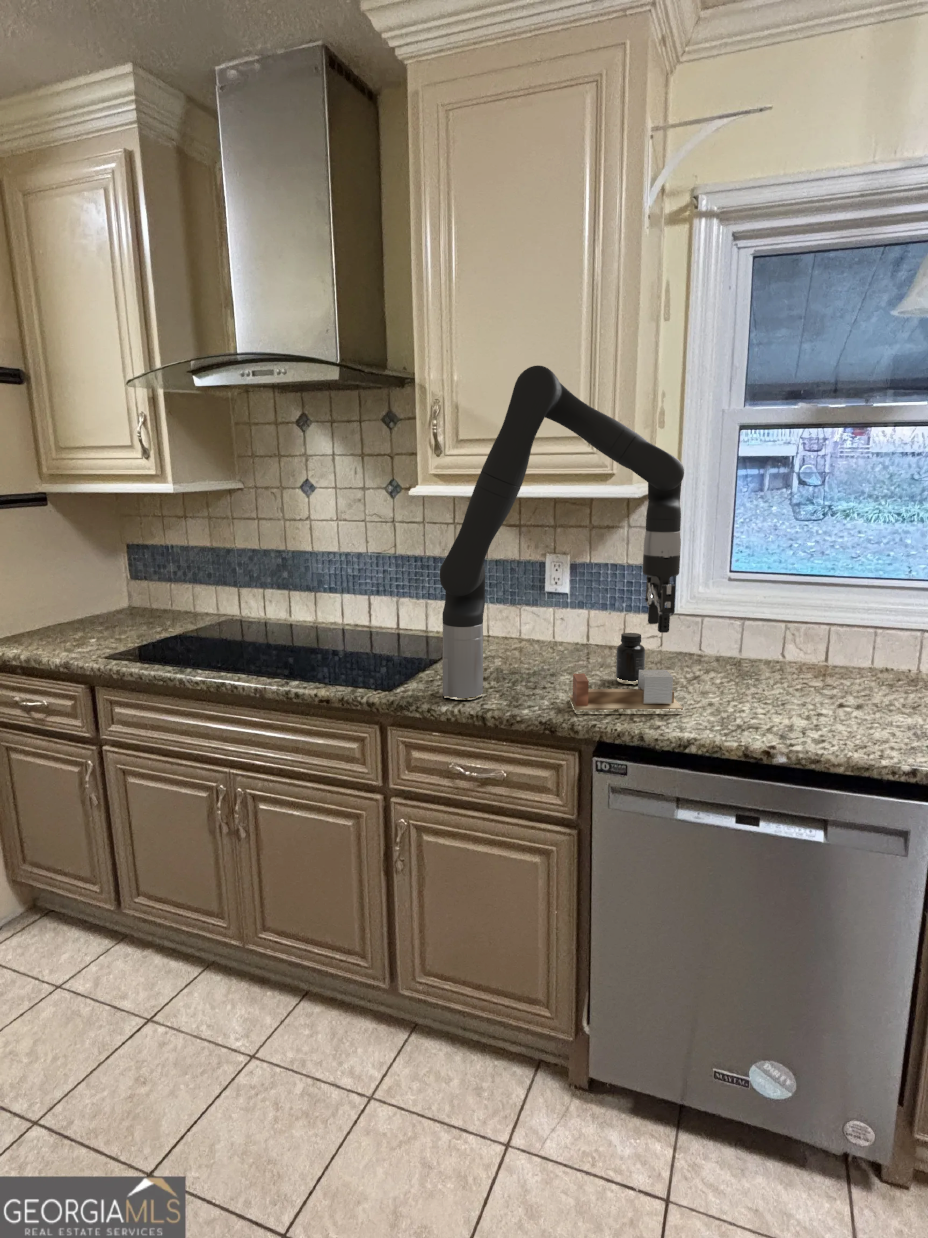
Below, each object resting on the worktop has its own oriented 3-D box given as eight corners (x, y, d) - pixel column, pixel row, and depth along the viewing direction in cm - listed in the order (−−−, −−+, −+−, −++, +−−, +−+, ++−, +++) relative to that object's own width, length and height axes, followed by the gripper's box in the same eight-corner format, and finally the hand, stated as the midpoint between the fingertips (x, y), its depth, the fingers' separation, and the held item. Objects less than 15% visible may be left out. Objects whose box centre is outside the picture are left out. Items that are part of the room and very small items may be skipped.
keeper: (643, 703, 156) (644, 676, 155) (637, 695, 162) (638, 669, 161) (671, 703, 156) (673, 676, 155) (664, 695, 162) (666, 669, 161)
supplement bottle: (639, 677, 183) (641, 631, 180) (647, 685, 176) (649, 637, 173) (612, 678, 182) (614, 631, 180) (619, 686, 176) (621, 637, 173)
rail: (574, 714, 155) (575, 683, 154) (569, 701, 164) (569, 671, 163) (682, 714, 155) (684, 683, 154) (671, 701, 164) (672, 671, 162)
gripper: (636, 549, 160) (633, 621, 163) (652, 556, 146) (648, 635, 149) (670, 548, 160) (666, 621, 163) (689, 556, 146) (685, 635, 149)
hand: (658, 627), depth 156 cm, fingers open, 8 cm apart
